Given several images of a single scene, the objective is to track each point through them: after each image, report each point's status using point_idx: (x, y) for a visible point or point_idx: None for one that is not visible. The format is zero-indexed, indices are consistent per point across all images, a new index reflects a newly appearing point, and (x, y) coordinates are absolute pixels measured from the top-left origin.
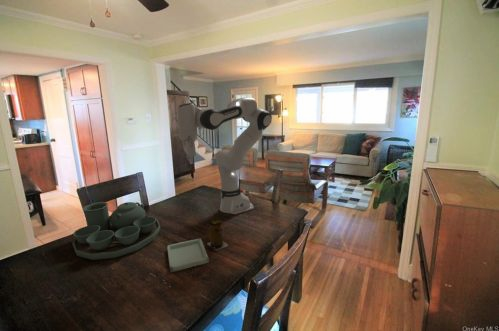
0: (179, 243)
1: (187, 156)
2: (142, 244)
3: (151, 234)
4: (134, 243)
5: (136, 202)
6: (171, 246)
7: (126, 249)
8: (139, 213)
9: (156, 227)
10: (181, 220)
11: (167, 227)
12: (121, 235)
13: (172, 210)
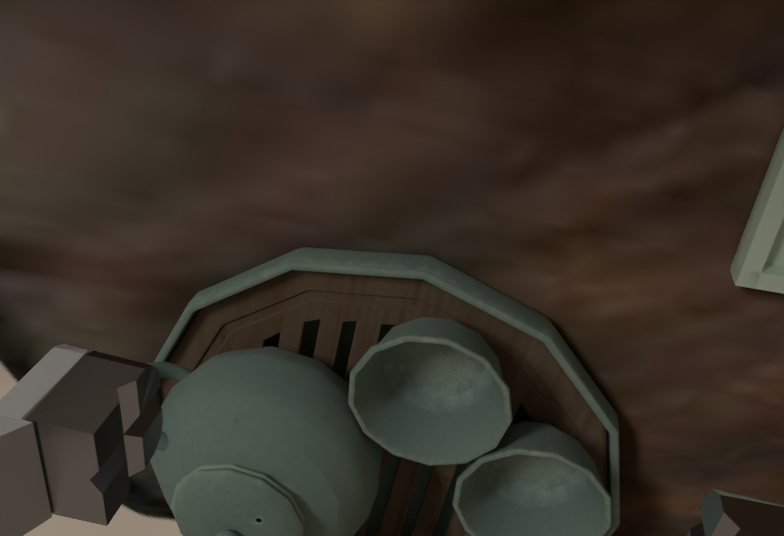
0: (778, 208)
1: (20, 518)
2: (600, 395)
3: (501, 332)
4: (560, 427)
5: None
6: (764, 261)
7: (619, 475)
8: (323, 435)
9: (409, 284)
10: (321, 62)
11: (396, 194)
12: (489, 501)
13: (77, 80)
